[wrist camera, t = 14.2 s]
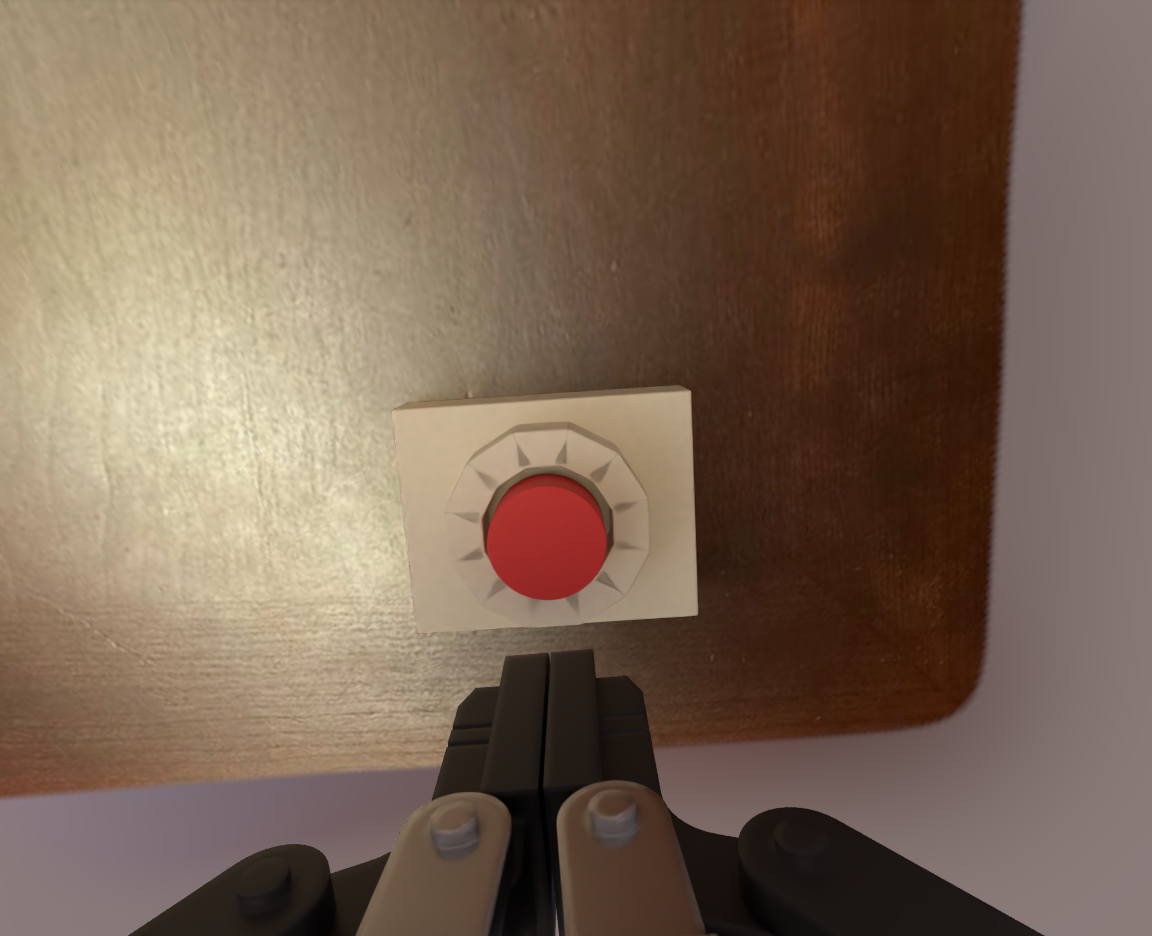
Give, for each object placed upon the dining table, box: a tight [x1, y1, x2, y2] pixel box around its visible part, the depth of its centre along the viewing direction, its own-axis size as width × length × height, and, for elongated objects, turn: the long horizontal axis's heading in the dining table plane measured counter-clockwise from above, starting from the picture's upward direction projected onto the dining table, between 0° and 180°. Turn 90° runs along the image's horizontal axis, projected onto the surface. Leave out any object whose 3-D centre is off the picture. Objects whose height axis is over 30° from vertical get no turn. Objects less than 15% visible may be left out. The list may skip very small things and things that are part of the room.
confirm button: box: [487, 474, 607, 600], centre depth 22 cm, size 4×4×2 cm
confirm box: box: [391, 385, 698, 634], centre depth 25 cm, size 10×8×4 cm
